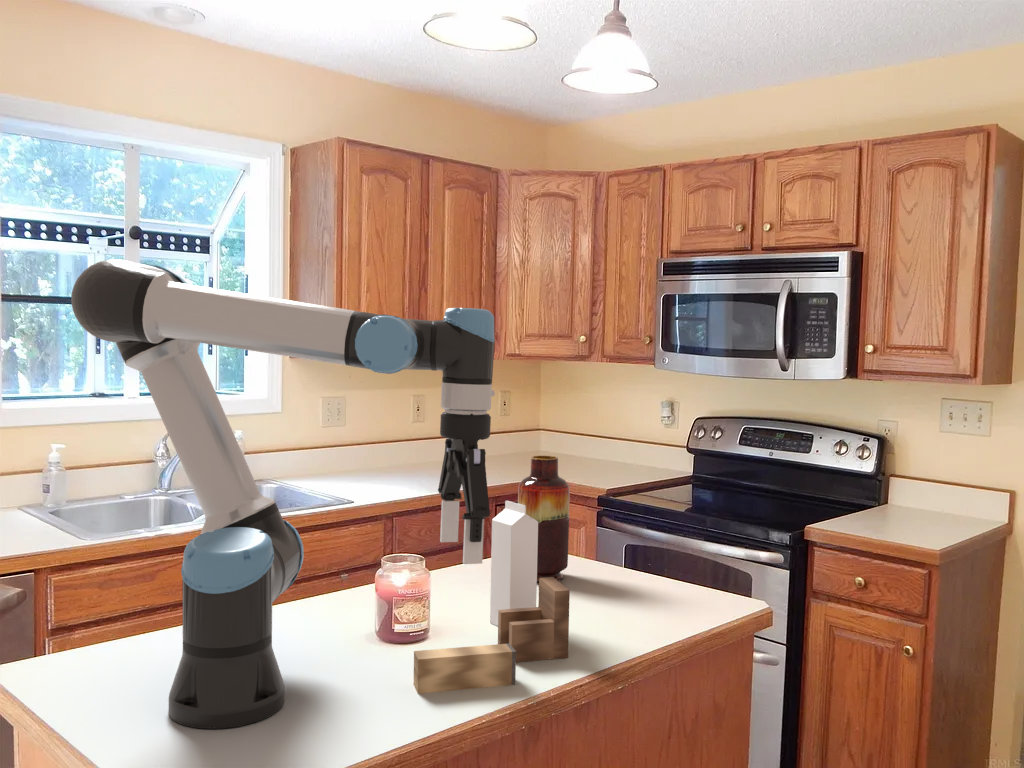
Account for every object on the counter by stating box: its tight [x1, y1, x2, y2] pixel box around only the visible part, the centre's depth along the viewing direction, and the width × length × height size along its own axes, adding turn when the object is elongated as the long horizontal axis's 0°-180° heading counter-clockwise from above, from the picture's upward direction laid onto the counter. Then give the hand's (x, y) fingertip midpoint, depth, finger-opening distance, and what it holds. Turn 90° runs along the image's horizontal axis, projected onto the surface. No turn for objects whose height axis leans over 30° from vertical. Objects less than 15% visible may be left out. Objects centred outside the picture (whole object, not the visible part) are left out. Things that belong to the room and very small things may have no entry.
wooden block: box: [412, 643, 517, 695], centre depth 130 cm, size 15×4×5 cm, turn 106°
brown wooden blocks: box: [497, 577, 571, 663], centre depth 145 cm, size 10×8×11 cm
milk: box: [489, 500, 538, 627], centre depth 158 cm, size 6×6×22 cm
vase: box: [517, 455, 571, 582], centre depth 190 cm, size 11×11×26 cm
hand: (460, 552), depth 133 cm, fingers open, 13 cm apart
